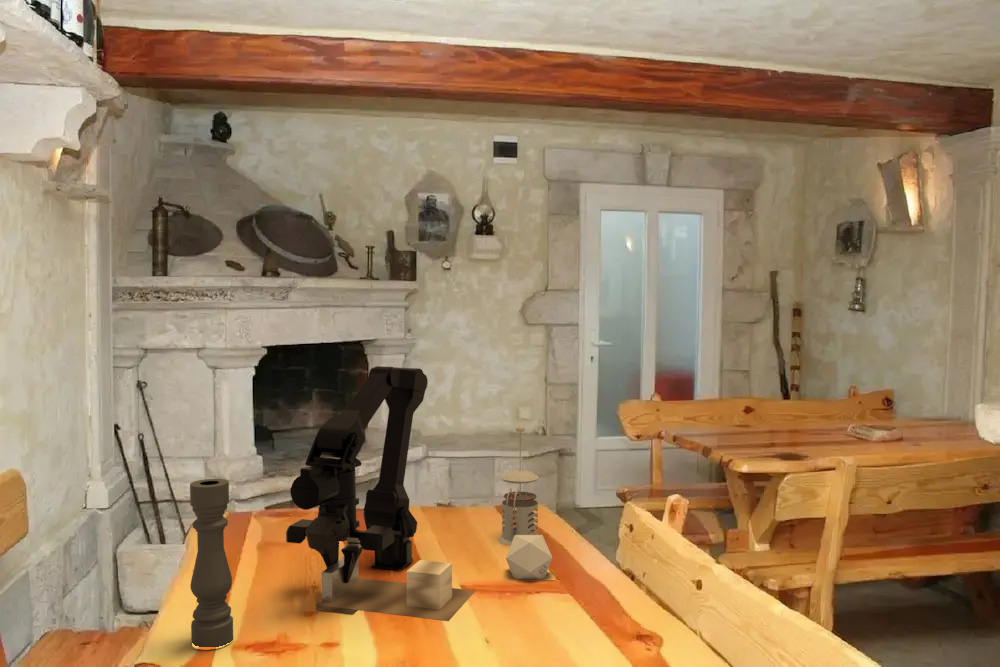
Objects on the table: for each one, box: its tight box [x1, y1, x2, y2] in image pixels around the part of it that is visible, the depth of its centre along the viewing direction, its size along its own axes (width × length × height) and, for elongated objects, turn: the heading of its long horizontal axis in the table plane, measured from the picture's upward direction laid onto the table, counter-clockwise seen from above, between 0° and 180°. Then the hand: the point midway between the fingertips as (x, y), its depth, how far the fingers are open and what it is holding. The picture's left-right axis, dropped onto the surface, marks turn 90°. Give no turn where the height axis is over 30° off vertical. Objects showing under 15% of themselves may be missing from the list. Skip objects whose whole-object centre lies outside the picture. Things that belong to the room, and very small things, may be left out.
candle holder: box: [189, 478, 234, 647], centre depth 129 cm, size 6×6×25 cm
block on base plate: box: [315, 556, 476, 622], centre depth 145 cm, size 24×14×6 cm, turn 73°
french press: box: [497, 425, 539, 547], centre depth 180 cm, size 10×12×25 cm
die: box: [505, 534, 553, 580], centre depth 157 cm, size 8×9×10 cm
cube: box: [406, 559, 453, 610], centre depth 143 cm, size 6×6×6 cm
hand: (340, 582), depth 148 cm, fingers closed on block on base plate, 2 cm apart
